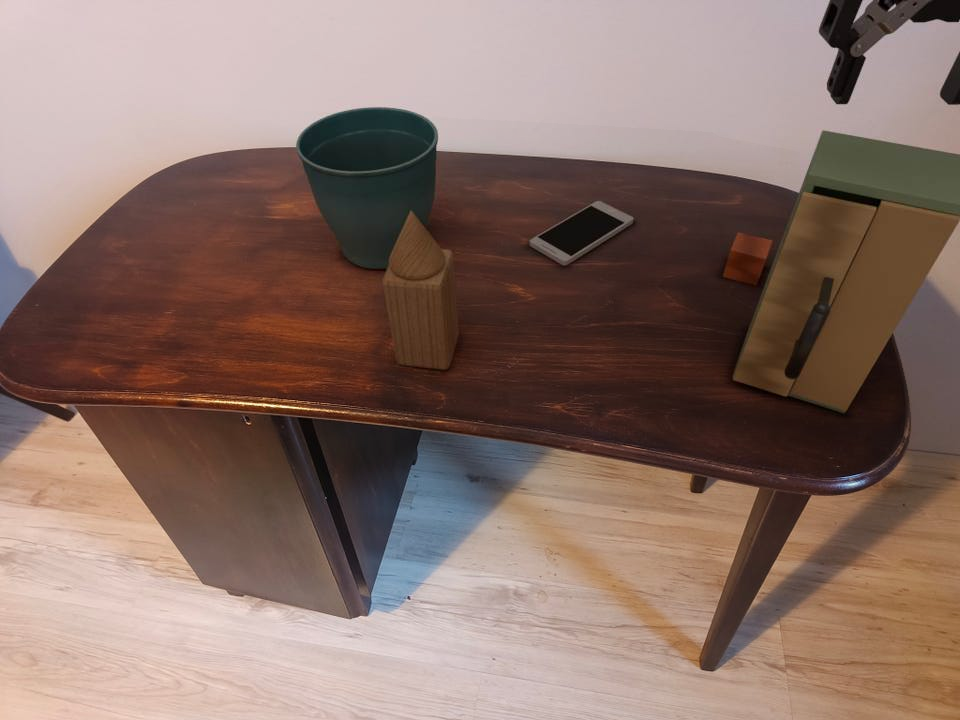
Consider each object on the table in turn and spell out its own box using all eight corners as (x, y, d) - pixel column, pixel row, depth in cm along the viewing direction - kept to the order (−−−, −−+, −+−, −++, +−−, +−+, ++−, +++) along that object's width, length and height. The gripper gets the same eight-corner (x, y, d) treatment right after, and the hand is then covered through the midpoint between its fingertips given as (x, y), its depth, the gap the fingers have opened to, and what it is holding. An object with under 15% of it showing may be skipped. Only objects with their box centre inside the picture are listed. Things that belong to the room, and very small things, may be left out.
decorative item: (395, 366, 76) (369, 225, 62) (409, 329, 81) (388, 189, 67) (449, 372, 75) (436, 230, 61) (460, 334, 80) (450, 193, 66)
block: (762, 267, 88) (772, 240, 84) (756, 286, 85) (766, 258, 82) (729, 259, 89) (738, 231, 86) (722, 277, 86) (730, 249, 83)
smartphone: (634, 222, 96) (635, 217, 95) (564, 266, 89) (565, 261, 88) (597, 204, 100) (598, 199, 99) (528, 245, 93) (528, 240, 92)
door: (787, 393, 70) (876, 206, 53) (778, 430, 66) (870, 243, 50) (733, 376, 72) (803, 191, 55) (721, 411, 68) (792, 225, 52)
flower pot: (422, 201, 102) (411, 96, 90) (465, 263, 90) (459, 151, 78) (311, 229, 97) (283, 122, 85) (341, 298, 85) (313, 185, 73)
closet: (853, 360, 75) (967, 155, 56) (843, 417, 69) (968, 209, 50) (748, 330, 79) (822, 129, 60) (730, 381, 73) (807, 177, 54)
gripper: (913, -148, 37) (815, 122, 49) (1174, -154, 36) (1011, 122, 48) (866, -166, 42) (788, 81, 54) (1093, -172, 41) (964, 81, 53)
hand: (893, 100), depth 51 cm, fingers open, 8 cm apart
